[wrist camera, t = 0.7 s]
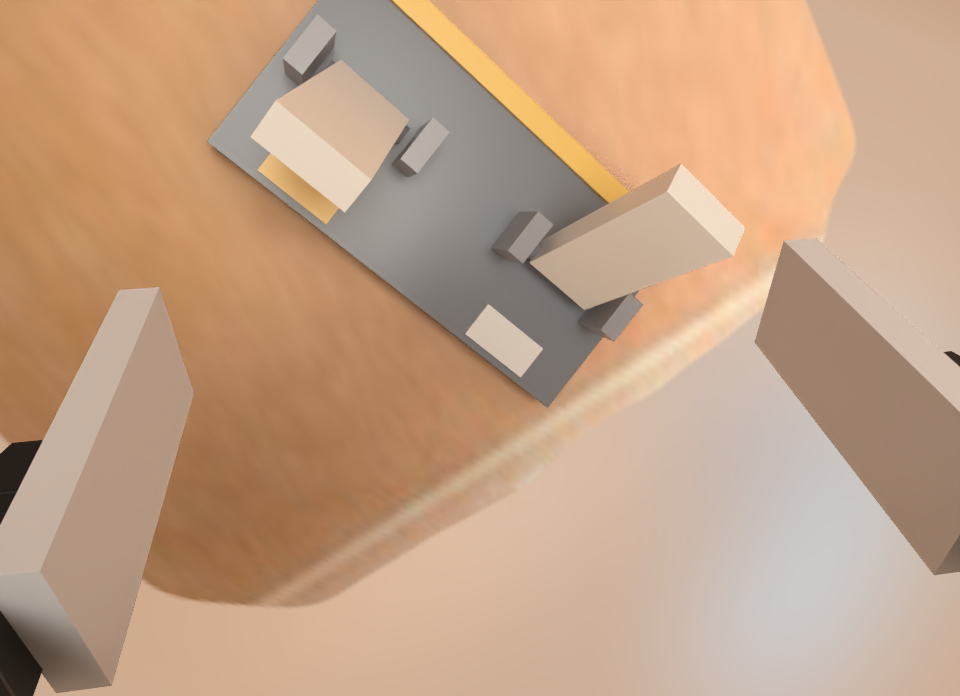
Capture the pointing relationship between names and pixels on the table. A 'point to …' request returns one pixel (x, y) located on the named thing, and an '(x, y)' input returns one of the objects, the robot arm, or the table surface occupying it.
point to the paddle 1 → (333, 132)
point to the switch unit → (447, 185)
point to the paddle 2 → (639, 240)
